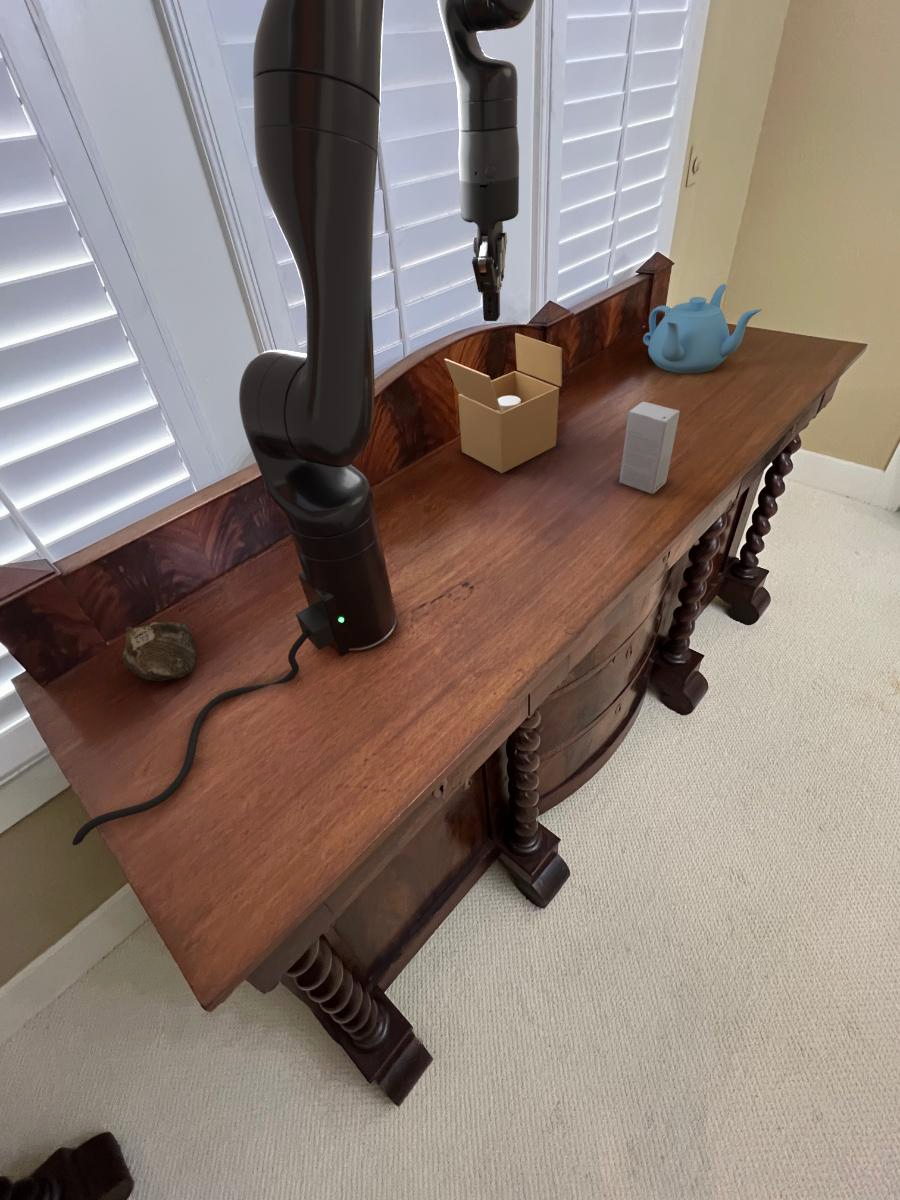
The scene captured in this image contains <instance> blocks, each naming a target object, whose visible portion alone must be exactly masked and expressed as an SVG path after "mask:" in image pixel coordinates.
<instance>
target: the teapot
mask: <svg viewBox="0 0 900 1200" xmlns="http://www.w3.org/2000/svg"><path fill="white" fill-rule="evenodd" d="M726 289H727V284H726V283H724V284H720V285H719V286H718V287H717V288H716V289H715V291H714V292H713V295H712V297H711V299H710V300H709V303H707V300H708V299H707V298H705V297H703V296H694V297H690V298H689V302H683V303H678V304H676V305H674V306H673V307H672V308H671V307H670V306H668V305H658V306H657V307H654V309H652V310H651V312H650V314H649V317H648V325H649V326H648V327H649V328H648V329H649V331H648V332H646V333H645V334H644V335H643V338H642V342H643V344H644V345H646V346H647V347H648V348H647V352H648V355H649V358H650V359H651V360H652V362H653V363H654V365H655V366H657V367H658V368H660V369H662V370H665V371H667V372H671V373H676V374H677V373H678V374H688V375H691V374H701V373H707V372H709V371H712V370H714V369H715V368H717V367H718V366H719V365H721V364H722V363H723V362H724V361H725V360H726V359H727V357H728V356H730V355H732V354H733V353H734V352H735V351H736V350H737V349H738V348H739V346H740V345H741V343H742V341H743V338H744V335H745V331H746V329H747V325H748V323H749V321H750V320H751V319H752V318H753V317H754V316H755V315H757V314H759V312H762V310H763V309H762V308H759V309H758V308H757V309H752V310H748V311H746V312H744V313H743V314H742V315H741V316H740V317H739V318H738V321H737V323H736V326H735V330H734V331H733V333H732V334H731V335H730V330H729V326H728V323H727V319H726V317H725V315H724V313H723V311H722V309H721V303H722V298H723V294H724V293H725V291H726ZM659 312H662V313H665V316H663V318H662V319H661V320H660V321H659V323H658V325H657V321H656V320H657V314H658V313H659Z"/></svg>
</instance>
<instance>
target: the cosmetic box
mask: <svg viewBox="0 0 900 1200" xmlns="http://www.w3.org/2000/svg"><path fill="white" fill-rule="evenodd" d="M680 413H681V412H680V409H675V408H670V407H666V406H662V405H659V404H655V403H651V402H648V401H641V402H640V403H639V404H637V405H635V406H634V407H632V408H631V409H630V410H629V411H628V414H627V421H626V429H625V436H624V444H623V452H622V459H621V465H620V473H619V481H618V482H619V484H622V485H626V486H628V487H631V488H633V489H636V490H639V491H642V492H645V493H648V494H650V495H654V494H655V493H657V491H658V490H659V489H661V488H662V487H663V486H664V485H666V483H667V479H668V473H669V470H670V469H669V468H670V464H671V459H672V453H673V449H674V443H675V437H676V434H677V429H678V423H679V419H680V418H679V417H680Z"/></svg>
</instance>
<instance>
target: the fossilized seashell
mask: <svg viewBox="0 0 900 1200" xmlns="http://www.w3.org/2000/svg"><path fill="white" fill-rule="evenodd" d="M188 626H189V625H188V624H187V623H183V622H174V621H171V622H170V621H165V622H164V621H163V622H157V621H153V622H151V623H149V625H144V626H143V625H142V626H138V627H134V628H133V627H132V626H127V627H125V647H124V650H123V653H122V656H121V660H122V662H123V664H124V665H125V666H126V667H127V668H128V670H130V672H132V673H133V674H134V675H135V676H137V677H138V678H141V679H144V680H146V681H153V682H163V681H169V680H173V679H174V680H175V679H176V680H177V679H180V678H182V677H184V676H187V675H188V674H190V673H191V672H192V671H193V669H194V668H195V666H196V662H197V648H196V644H195V639H194V636H193V634H192V631H191V630H190V628H189V627H188Z"/></svg>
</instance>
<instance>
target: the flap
mask: <svg viewBox="0 0 900 1200" xmlns="http://www.w3.org/2000/svg"><path fill="white" fill-rule="evenodd" d="M444 362H445V365H446V367H447V371H448V372H449V375H450V377H451V380H452V383H453V385H454V387H455V391H456V392H457V393H459V394H464V395H466V396H468V397H470V398H472V399H475V400H477V401H479V402H481V403H483V404H486V405H488V406H490V407H492V408H494V409H497V410H499V411H500V410H501V408H500V405H499V402H498V399H497V396H496V393H495V391H494V388H493V385H492V382H491V381H492V379H491V376H490V375H487V374H486V373H483V372H480V371H478V370H476V369H472V368H470V367H468V366H465V365H463V364H460V363H458V362H456V361H453V360H451V359H448V358H444Z"/></svg>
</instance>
